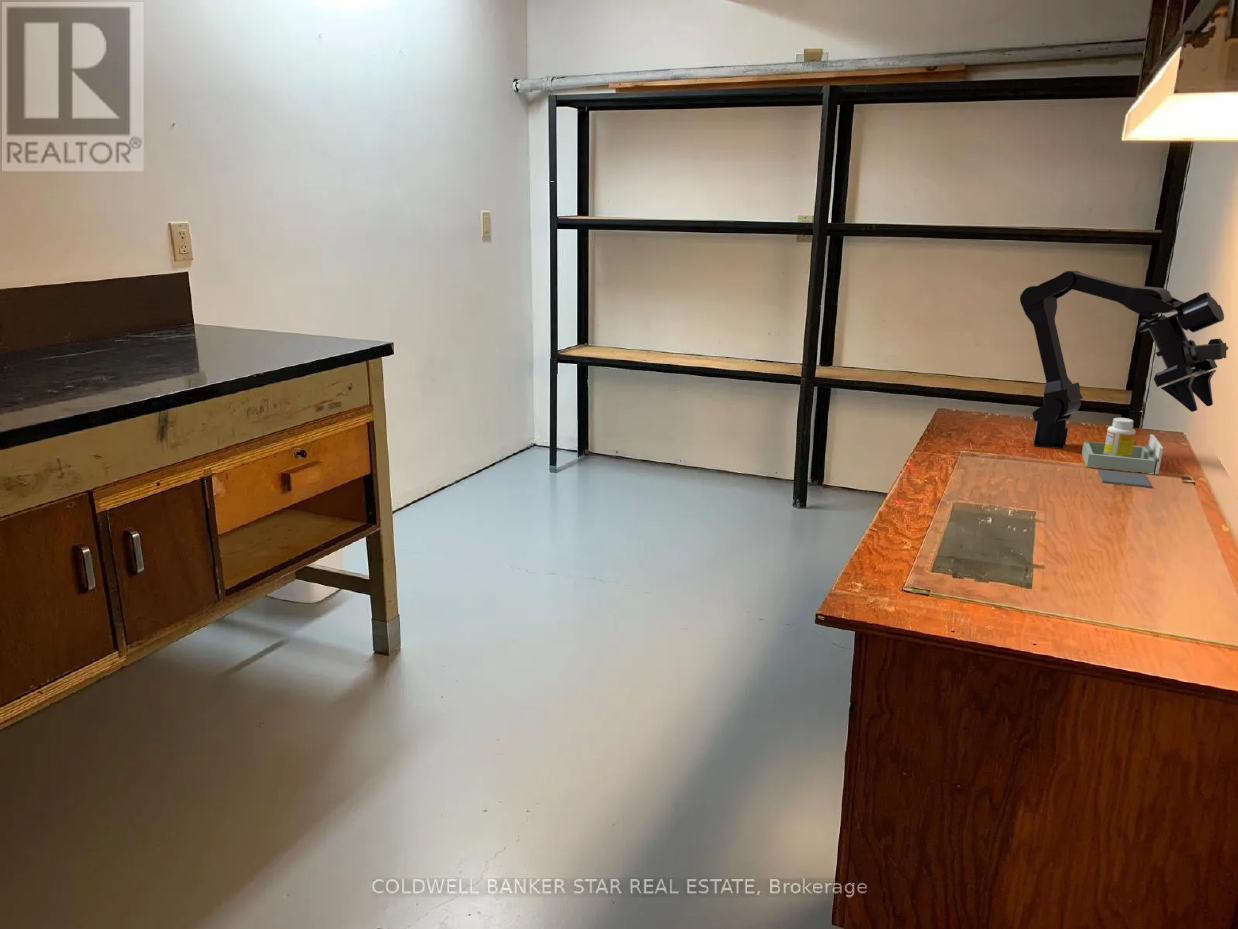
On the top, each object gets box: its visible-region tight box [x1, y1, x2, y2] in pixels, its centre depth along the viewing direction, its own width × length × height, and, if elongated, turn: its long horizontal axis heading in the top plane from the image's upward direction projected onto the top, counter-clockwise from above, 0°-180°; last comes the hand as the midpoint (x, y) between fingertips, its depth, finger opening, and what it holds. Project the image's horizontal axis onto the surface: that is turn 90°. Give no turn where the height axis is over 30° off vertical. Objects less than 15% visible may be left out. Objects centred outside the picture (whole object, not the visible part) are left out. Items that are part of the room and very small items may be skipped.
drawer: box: [1081, 433, 1164, 475], centre depth 194 cm, size 14×13×6 cm
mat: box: [1097, 469, 1153, 489], centre depth 183 cm, size 9×9×1 cm
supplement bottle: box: [1103, 417, 1137, 457], centre depth 194 cm, size 6×6×10 cm
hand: (1202, 408), depth 183 cm, fingers open, 9 cm apart
